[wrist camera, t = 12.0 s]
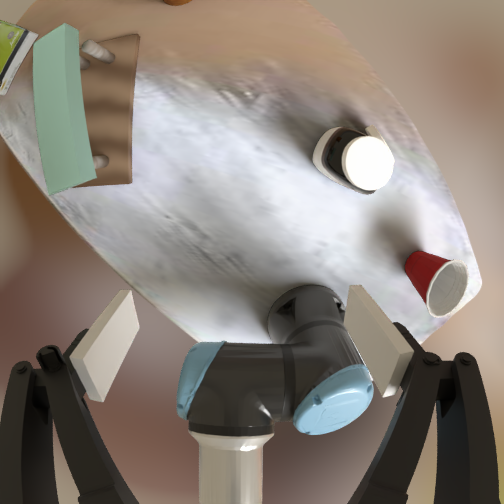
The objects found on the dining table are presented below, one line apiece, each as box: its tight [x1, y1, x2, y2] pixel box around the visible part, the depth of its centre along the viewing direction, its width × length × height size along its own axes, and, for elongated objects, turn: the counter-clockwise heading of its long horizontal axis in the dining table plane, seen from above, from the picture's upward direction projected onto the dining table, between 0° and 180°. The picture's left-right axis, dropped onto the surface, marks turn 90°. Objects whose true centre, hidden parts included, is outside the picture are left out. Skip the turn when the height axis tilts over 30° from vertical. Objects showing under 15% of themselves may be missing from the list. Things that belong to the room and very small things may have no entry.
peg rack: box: [72, 34, 140, 188], centre depth 32 cm, size 26×14×10 cm, turn 178°
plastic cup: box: [405, 251, 469, 318], centre depth 43 cm, size 11×11×12 cm
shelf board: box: [33, 23, 97, 195], centre depth 26 cm, size 24×6×4 cm, turn 10°
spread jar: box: [313, 125, 395, 195], centre depth 35 cm, size 12×11×12 cm
